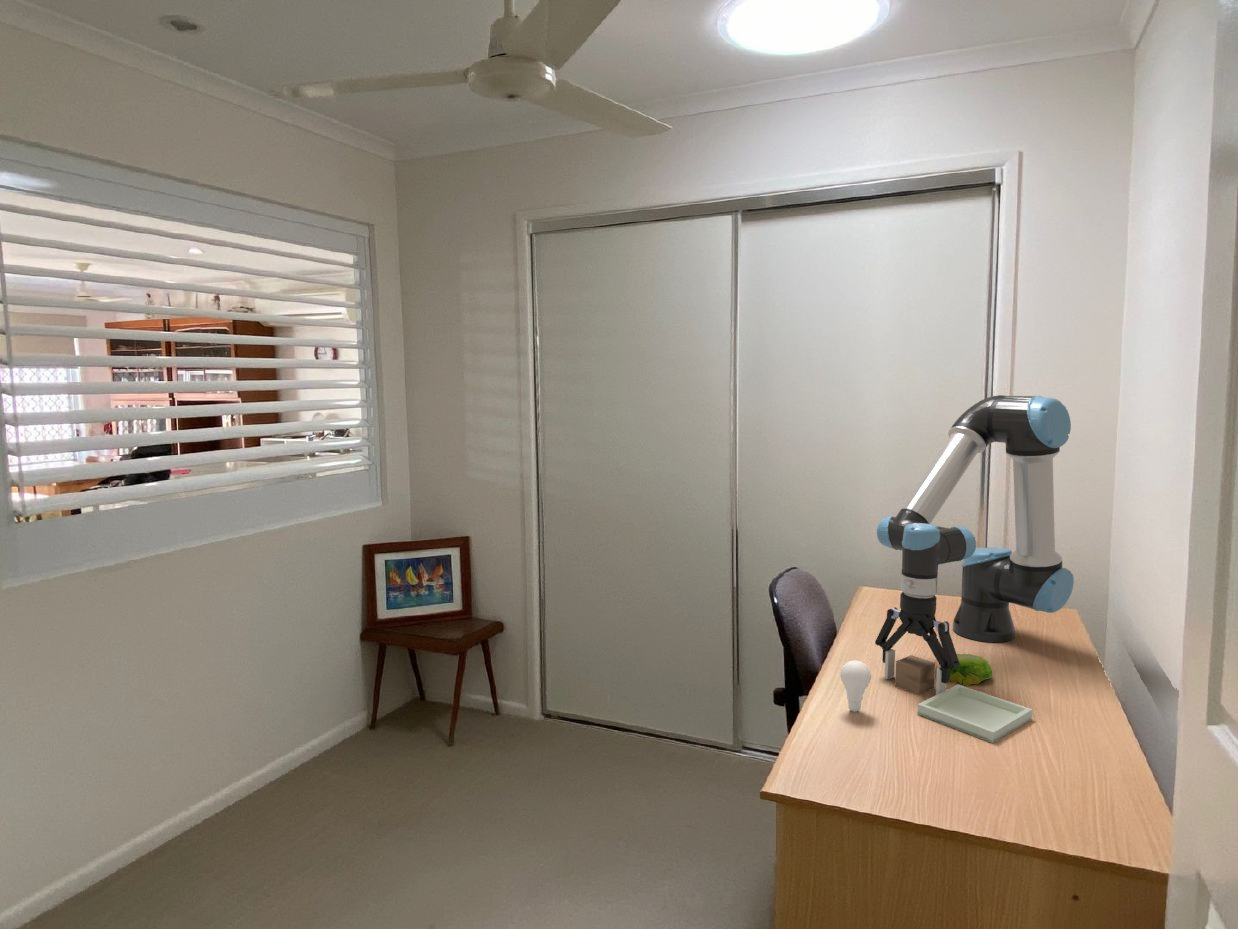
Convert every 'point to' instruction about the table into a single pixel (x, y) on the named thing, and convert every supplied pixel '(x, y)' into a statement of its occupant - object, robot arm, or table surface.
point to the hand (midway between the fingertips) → (914, 686)
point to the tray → (975, 713)
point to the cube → (915, 674)
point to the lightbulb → (855, 682)
